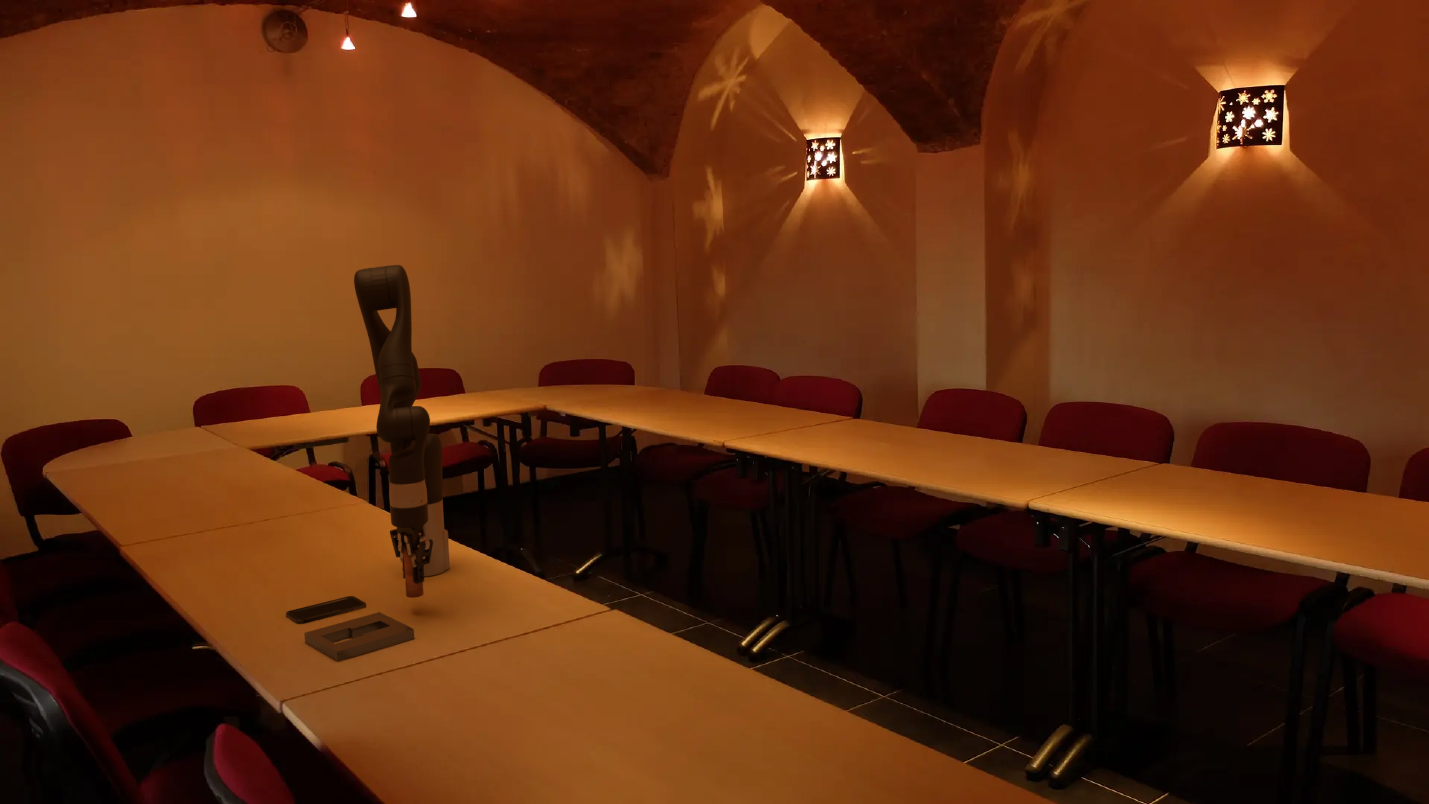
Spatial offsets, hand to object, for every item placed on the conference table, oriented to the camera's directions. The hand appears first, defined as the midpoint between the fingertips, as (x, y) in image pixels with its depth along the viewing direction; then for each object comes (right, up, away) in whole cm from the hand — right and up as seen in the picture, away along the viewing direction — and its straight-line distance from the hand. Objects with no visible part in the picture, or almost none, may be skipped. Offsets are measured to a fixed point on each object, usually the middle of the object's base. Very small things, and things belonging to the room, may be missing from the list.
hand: (413, 580), depth 225 cm
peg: (0, -3, +1) cm, 3 cm away
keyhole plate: (-7, -10, -14) cm, 18 cm away
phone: (-19, -8, +3) cm, 21 cm away
